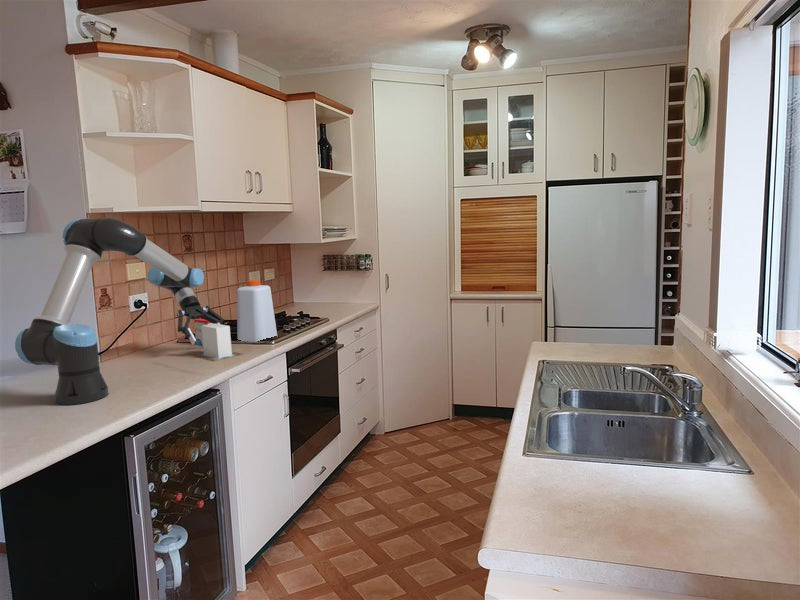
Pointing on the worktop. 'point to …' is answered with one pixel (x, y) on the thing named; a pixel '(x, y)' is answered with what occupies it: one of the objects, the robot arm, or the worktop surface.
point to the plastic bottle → (255, 312)
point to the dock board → (216, 358)
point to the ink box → (200, 329)
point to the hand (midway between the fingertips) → (209, 339)
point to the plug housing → (216, 340)
